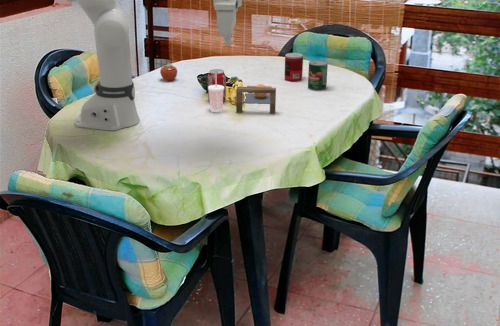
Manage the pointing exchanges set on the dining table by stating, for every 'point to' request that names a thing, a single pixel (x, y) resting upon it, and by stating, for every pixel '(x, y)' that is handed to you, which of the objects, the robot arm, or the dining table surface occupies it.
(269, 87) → the rail
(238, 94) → the bridge
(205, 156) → the dining table surface
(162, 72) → the tomato
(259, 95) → the ball
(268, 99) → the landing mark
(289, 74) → the canned food
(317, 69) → the canned tomato
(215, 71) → the soda can
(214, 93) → the beverage cup
